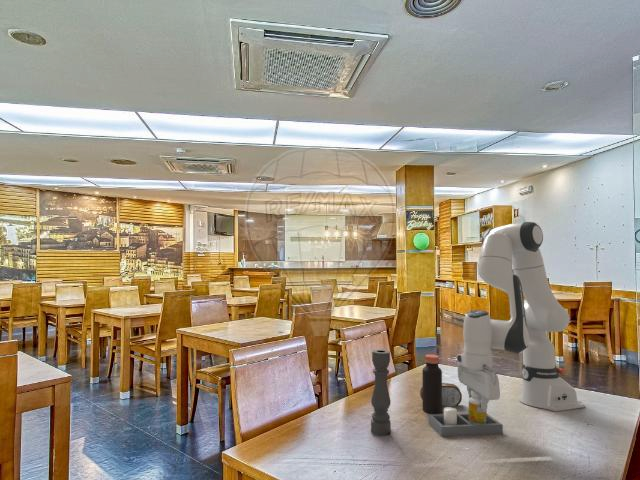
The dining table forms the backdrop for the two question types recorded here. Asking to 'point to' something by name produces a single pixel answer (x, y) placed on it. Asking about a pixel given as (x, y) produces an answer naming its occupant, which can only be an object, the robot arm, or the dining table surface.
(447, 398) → the tin
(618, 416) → the dining table surface
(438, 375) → the vinegar
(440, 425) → the caddy
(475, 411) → the supplement bottle
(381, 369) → the candle holder
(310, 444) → the dining table surface
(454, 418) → the shaker
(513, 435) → the dining table surface
